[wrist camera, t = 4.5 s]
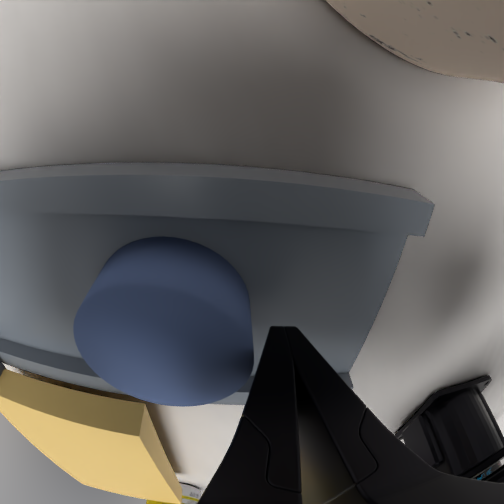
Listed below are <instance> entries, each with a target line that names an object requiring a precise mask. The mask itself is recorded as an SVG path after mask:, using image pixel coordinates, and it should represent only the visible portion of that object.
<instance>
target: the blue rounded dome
mask: <svg viewBox="0 0 504 504" xmlns="http://www.w3.org/2000/svg"><path fill="white" fill-rule="evenodd" d="M73 332H74V338H75V343H76V345H77V348H78V350H79V352H80V354H81V356H82V357H83V359H84V360H85V362H86V363H87V364H88V365H89V367H90V368H91V369H92V370H93V371H94V372H95V373H96V374H97V375H98V376H99V377H101V378H102V379H103V380H105V381H106V382H107V383H109V384H110V385H112V386H113V387H115V388H116V389H118V390H120V391H122V392H124V393H126V394H128V395H131V396H133V397H135V398H138V399H141V400H144V401H148V402H151V403H156V404H161V405H168V406H197V405H204V404H209V403H213V402H216V401H219V400H221V399H224V398H226V397H228V396H230V395H232V394H233V393H235V392H236V391H238V390H239V389H240V388H241V387H242V386H243V385H244V384H245V383H246V382H247V380H248V379H249V377H250V375H251V373H252V371H253V366H254V347H253V335H252V322H251V310H250V299H249V294H248V291H247V288H246V285H245V283H244V281H243V280H242V278H241V276H240V275H239V273H238V272H237V271H236V269H235V268H234V267H233V266H232V265H231V264H230V263H229V262H228V261H227V260H225V259H224V258H223V257H222V256H220V255H219V254H218V253H216V252H214V251H213V250H211V249H209V248H207V247H205V246H203V245H201V244H198V243H195V242H192V241H189V240H186V239H181V238H176V237H165V236H162V237H149V238H143V239H139V240H136V241H133V242H131V243H129V244H127V245H125V246H123V247H121V248H120V249H119V250H117V251H116V252H115V253H114V254H113V255H112V256H111V257H110V258H109V259H108V261H107V262H106V263H105V265H104V267H103V268H102V270H101V271H100V273H99V275H98V276H97V278H96V280H95V281H94V283H93V285H92V286H91V288H90V290H89V292H88V293H87V295H86V297H85V299H84V300H83V302H82V304H81V306H80V307H79V309H78V311H77V313H76V316H75V319H74V325H73Z"/></svg>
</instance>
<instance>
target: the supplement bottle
mask: <svg viewBox="0 0 504 504" xmlns="http://www.w3.org/2000/svg"><path fill="white" fill-rule="evenodd" d="M180 485H181V487H182V504H197V502H198V501H199V499H200V498H201V492H200V491H199V490H198V489H197V488H195V487H193V486H190V485H186V484H181V483H180ZM146 504H175V503H167V502H160V501H153V500H147V502H146Z"/></svg>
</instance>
